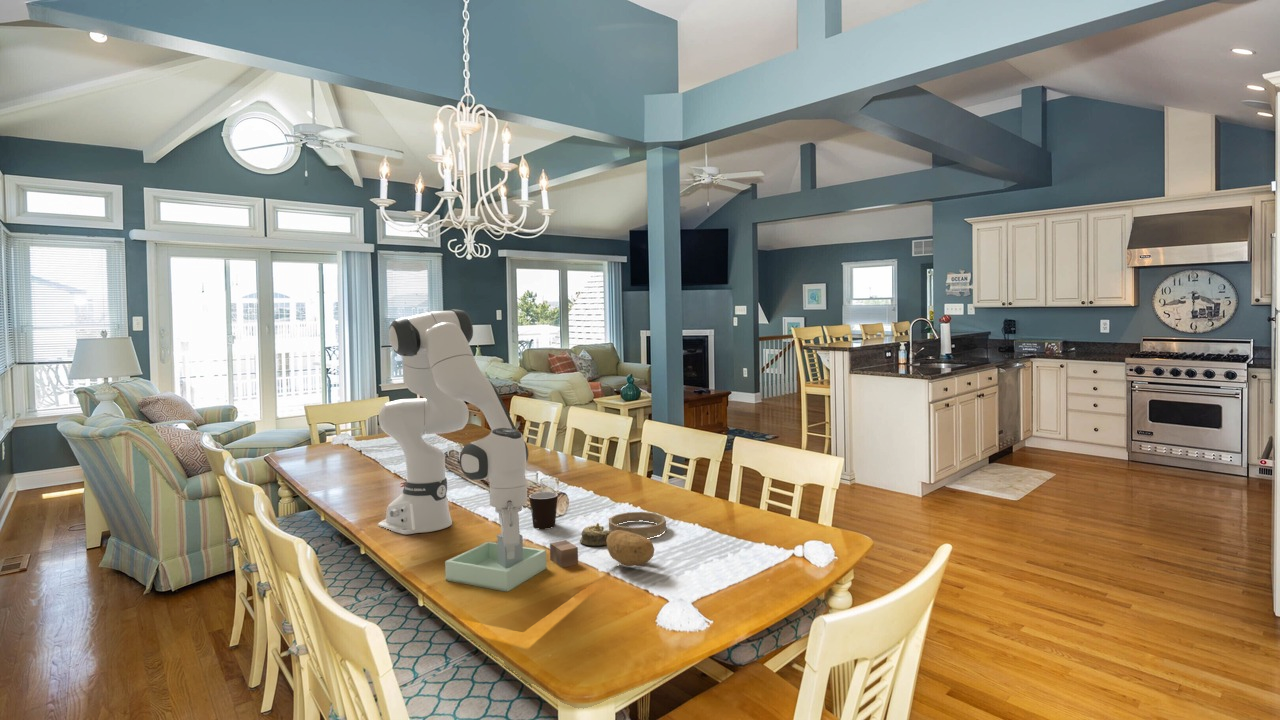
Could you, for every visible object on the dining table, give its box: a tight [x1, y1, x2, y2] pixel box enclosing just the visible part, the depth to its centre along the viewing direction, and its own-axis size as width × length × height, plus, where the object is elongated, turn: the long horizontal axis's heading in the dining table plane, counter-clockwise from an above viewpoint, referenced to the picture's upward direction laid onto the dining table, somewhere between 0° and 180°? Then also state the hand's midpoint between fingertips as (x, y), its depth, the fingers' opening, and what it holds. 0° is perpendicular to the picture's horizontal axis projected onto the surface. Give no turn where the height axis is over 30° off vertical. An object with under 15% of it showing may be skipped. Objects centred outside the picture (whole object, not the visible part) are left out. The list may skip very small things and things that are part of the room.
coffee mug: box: [528, 491, 559, 530], centre depth 195 cm, size 12×9×10 cm
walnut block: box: [549, 539, 579, 569], centre depth 164 cm, size 4×4×7 cm
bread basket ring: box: [608, 511, 667, 538], centre depth 189 cm, size 17×17×4 cm
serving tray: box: [444, 541, 548, 593], centre depth 156 cm, size 18×16×5 cm
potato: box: [606, 530, 655, 567], centre depth 161 cm, size 10×14×8 cm
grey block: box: [496, 533, 524, 569], centre depth 154 cm, size 4×4×7 cm
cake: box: [579, 522, 611, 547], centre depth 180 cm, size 10×10×5 cm
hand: (509, 553), depth 154 cm, fingers closed on grey block, 5 cm apart
